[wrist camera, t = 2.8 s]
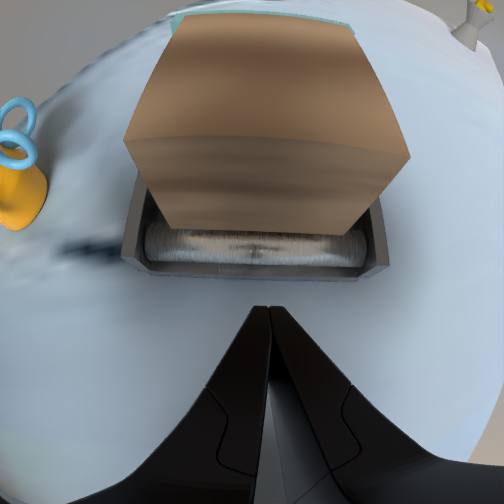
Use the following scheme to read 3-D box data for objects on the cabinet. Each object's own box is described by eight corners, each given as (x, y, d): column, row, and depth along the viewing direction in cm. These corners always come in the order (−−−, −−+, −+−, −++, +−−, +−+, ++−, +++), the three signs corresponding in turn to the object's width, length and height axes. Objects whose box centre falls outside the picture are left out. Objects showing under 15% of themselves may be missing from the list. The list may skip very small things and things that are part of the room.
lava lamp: (452, 36, 38) (490, -45, 5) (448, 29, 41) (482, -45, 8) (478, 55, 37) (519, -22, 4) (473, 46, 40) (509, -25, 7)
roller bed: (361, 281, 17) (389, 265, 13) (143, 274, 16) (120, 256, 13) (332, 100, 22) (342, 70, 19) (182, 93, 22) (176, 61, 18)
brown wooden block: (343, 235, 14) (410, 157, 7) (171, 228, 14) (123, 140, 7) (323, 106, 17) (348, 26, 10) (196, 99, 17) (185, 15, 10)
